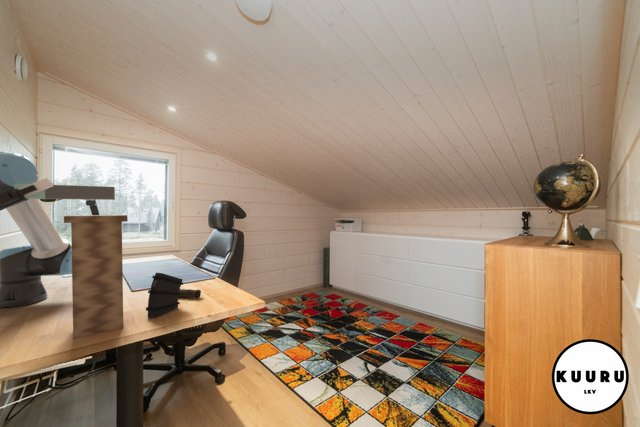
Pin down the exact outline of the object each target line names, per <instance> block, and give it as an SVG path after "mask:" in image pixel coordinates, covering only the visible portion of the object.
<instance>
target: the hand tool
mask: <svg viewBox="0 0 640 427" xmlns="http://www.w3.org/2000/svg"><path fill="white" fill-rule="evenodd" d="M179 293H181V294H180V295H179V296H178V298H187V299H194V300H198V299H200V297H201V296H202V295H201V294H202V290H201V289H195V290H194V289H191V288H189V289H185V288H180V290H179Z"/></svg>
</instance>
